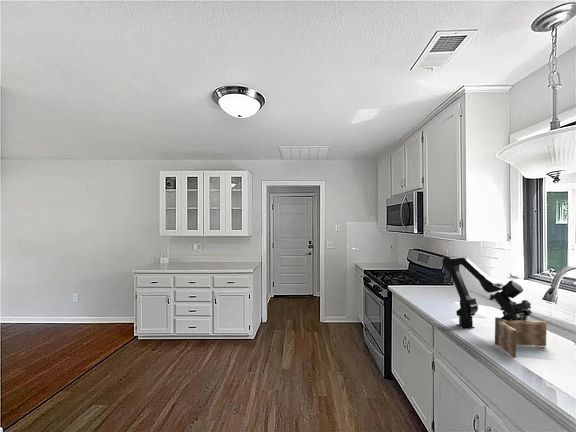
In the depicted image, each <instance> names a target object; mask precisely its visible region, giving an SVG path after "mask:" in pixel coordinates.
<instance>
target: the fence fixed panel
mask: <svg viewBox="0 0 576 432" xmlns="http://www.w3.org/2000/svg"><path fill="white" fill-rule="evenodd" d="M494 322H495V323H494V342H495V344H497V345H499V346H500V347H501V348H503V349H504V350H505V351H506V352H508V353H509V354H510V355H511V356H513V357H512V358H517V357H516V333H517V330H515V329H514V328H512V327H511V326H509V325H507V324H506V323H504V322H503V321H501V317H498V316H497V317H495V318H494ZM511 356H510V357H511Z"/></svg>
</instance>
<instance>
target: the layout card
mask: <svg viewBox="0 0 576 432" xmlns="http://www.w3.org/2000/svg"><path fill="white" fill-rule="evenodd" d="M491 343H492V344H493V346H495V347H497V348H498V349H499V350H500V351H501V352H503V353H504V354H505V355H506V356H507V357H512V358H514V357H513V356H511V355H510V354H509V353H508V352H506V351H505V350H504V349H503V348H501V347H500V346H499V345H497V344H495V341H493V342H492V341H491ZM515 358H524V359H525V358H526V359H527V358H529V359H541V360H551V361H552V360H554V359H553V358H551V357H550V356H549V355H547V354H545V353H544V352H542V351H541V350H539V349H538V348H536V346H533V345H516V357H515Z"/></svg>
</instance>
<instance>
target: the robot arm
mask: <svg viewBox="0 0 576 432" xmlns="http://www.w3.org/2000/svg"><path fill="white" fill-rule="evenodd" d="M441 261H442V262H441V263H442V265H443V266H444V268H445V269H446V271H448V272H449V274H450V277H451V280H452V282H453V284H454V287H455V288H456V291H457V294H458V296H459V307H460V308H459V309H457V310H456V316H457V317H458V323H457V324H456V326H457V327H459V328H462V329H465V330H467V329H468V330H469V329H475V326H474V324H473V323H474V322H473V316H475V315H476V313H477V312H478V310H479V304H478V302H477V300H476V298H474V297H473V298H472V297H471V296H470V294H469V291H468V289H467V286H466V284H465V281H464V279H463V276H462V273H461V272H460V266H463V267H464V268H465V269H466V271H468V272H469V273H470V274H471V275H472V276H473V277H474V278H475V279H477V280H478V281H479V284H480V286H481V287H482V289H483V290H484V291H485V292H486V293H488V294H489V293H491V294H490V296H489V300H490V301H494V300H495V302H496V303H497V305H498V306H500V311H502V312H503V311H504V312H505V313H506V315H503V316H502V317H500V318H501V319H504V320H508V321H509V320H526V319H527V320H528V317H529V316H530V315H533V312H532V311H531V310H530V309H532V307H531V305H532V303H531V302H530V301H529V300H527V299H524V300H521V302H519V303H517V301H513V300H512V299H515V298H516V297H517V296H519V295H520V294H521V293H523V292H524V288H523V287H522V286H521V285H520V284H518V283H517V282H515V281H514V280H513V279H512V280H509V281H508V282H507V283H506V284H502V283H500V282H499V281H498V280H497V279H495V278H493V277H492V276H489V275H488V274H486V273H485V272H484V271H483V270H482V269H480V268H479V266H477V265H476V264H475V262H472V260H471V259H470V258H469V257H467V256H465V257H457V256H454V255H451V256H445V257H443V258H442V260H441ZM492 293H494V294H492ZM527 320H526V321H527Z"/></svg>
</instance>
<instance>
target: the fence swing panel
mask: <svg viewBox="0 0 576 432" xmlns="http://www.w3.org/2000/svg"><path fill="white" fill-rule="evenodd" d="M501 321H503V322H504V323H506V324H507V325H509V326H511V327H512V328H514V329H515V330H517V333H516V345H532V346H533V347H536V346H537V347H547V325H548V322H547V321H545V320H543V321H542V320H541V321H540V320H509V321H508V320H504V319H501Z"/></svg>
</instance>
